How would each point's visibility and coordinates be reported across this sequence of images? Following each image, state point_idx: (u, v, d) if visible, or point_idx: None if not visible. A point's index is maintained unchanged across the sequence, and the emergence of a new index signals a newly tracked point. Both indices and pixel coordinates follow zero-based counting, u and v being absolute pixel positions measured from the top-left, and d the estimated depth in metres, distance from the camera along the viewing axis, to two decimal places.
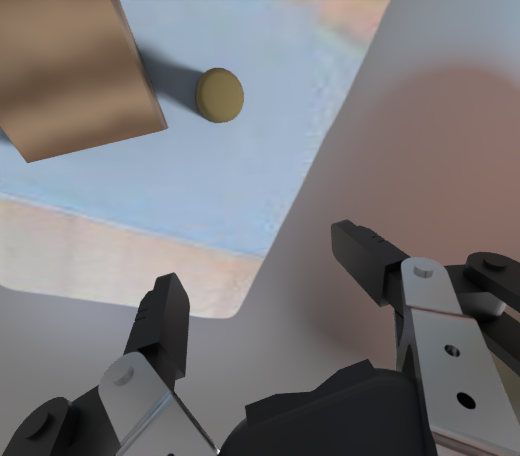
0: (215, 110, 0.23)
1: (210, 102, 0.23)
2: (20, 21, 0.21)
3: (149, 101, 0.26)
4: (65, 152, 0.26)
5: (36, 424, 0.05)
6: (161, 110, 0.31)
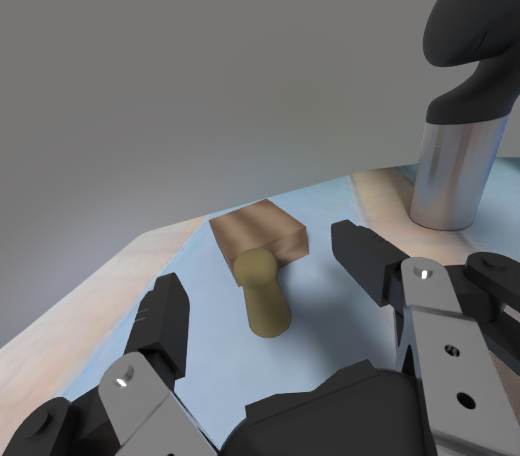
0: (240, 256, 0.25)
1: (245, 252, 0.26)
2: (271, 213, 0.43)
3: None
4: (213, 228, 0.43)
5: (36, 424, 0.05)
6: None
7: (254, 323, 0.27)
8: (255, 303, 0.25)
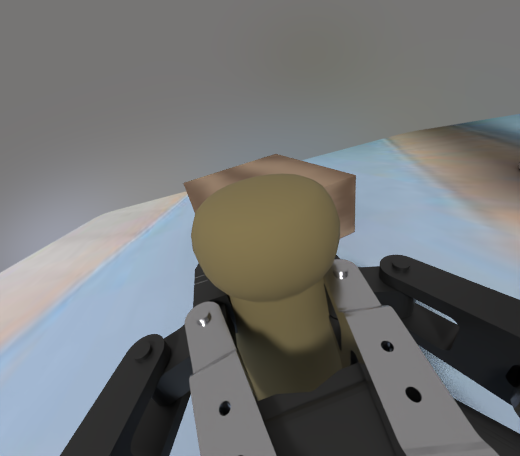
0: (215, 193, 0.08)
1: (233, 183, 0.08)
2: (286, 166, 0.26)
3: None
4: (187, 191, 0.25)
5: (142, 351, 0.06)
6: None
7: (259, 393, 0.10)
8: (263, 345, 0.08)
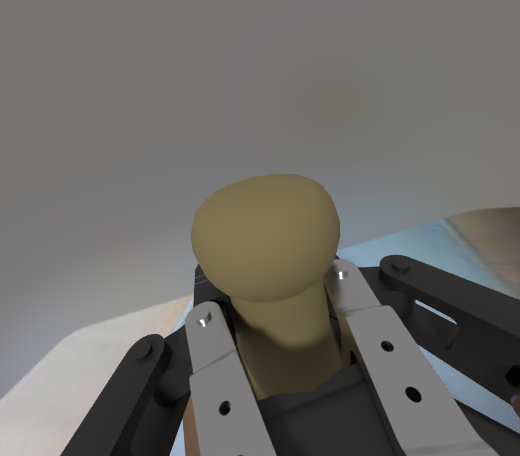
0: (214, 194, 0.08)
1: (233, 184, 0.08)
2: None
3: None
4: None
5: (142, 351, 0.06)
6: None
7: (260, 393, 0.10)
8: (263, 345, 0.08)
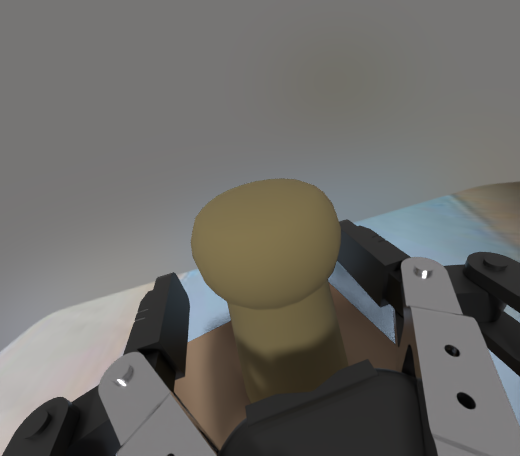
0: (215, 199, 0.08)
1: (233, 189, 0.08)
2: None
3: None
4: None
5: (36, 424, 0.05)
6: None
7: (260, 398, 0.10)
8: (263, 352, 0.08)
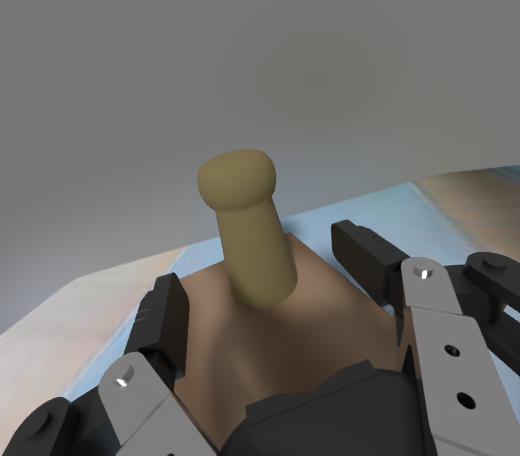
0: (209, 159, 0.14)
1: None
2: (311, 279, 0.18)
3: None
4: None
5: (37, 424, 0.05)
6: None
7: (237, 283, 0.16)
8: (236, 243, 0.15)
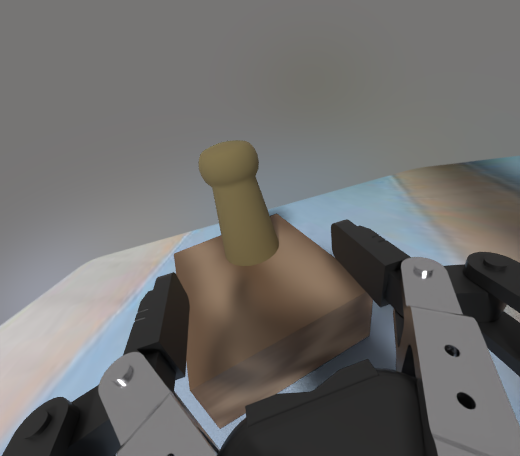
0: None
1: None
2: (289, 245, 0.23)
3: (241, 361, 0.14)
4: (177, 274, 0.22)
5: (36, 424, 0.05)
6: None
7: (230, 245, 0.21)
8: (228, 212, 0.19)
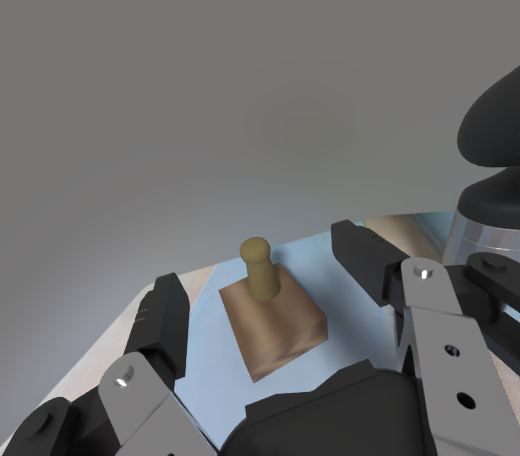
0: (244, 243, 0.37)
1: (248, 240, 0.37)
2: (286, 288, 0.40)
3: (265, 350, 0.31)
4: (224, 305, 0.40)
5: (37, 424, 0.05)
6: (266, 374, 0.34)
7: (254, 290, 0.39)
8: (254, 275, 0.37)
